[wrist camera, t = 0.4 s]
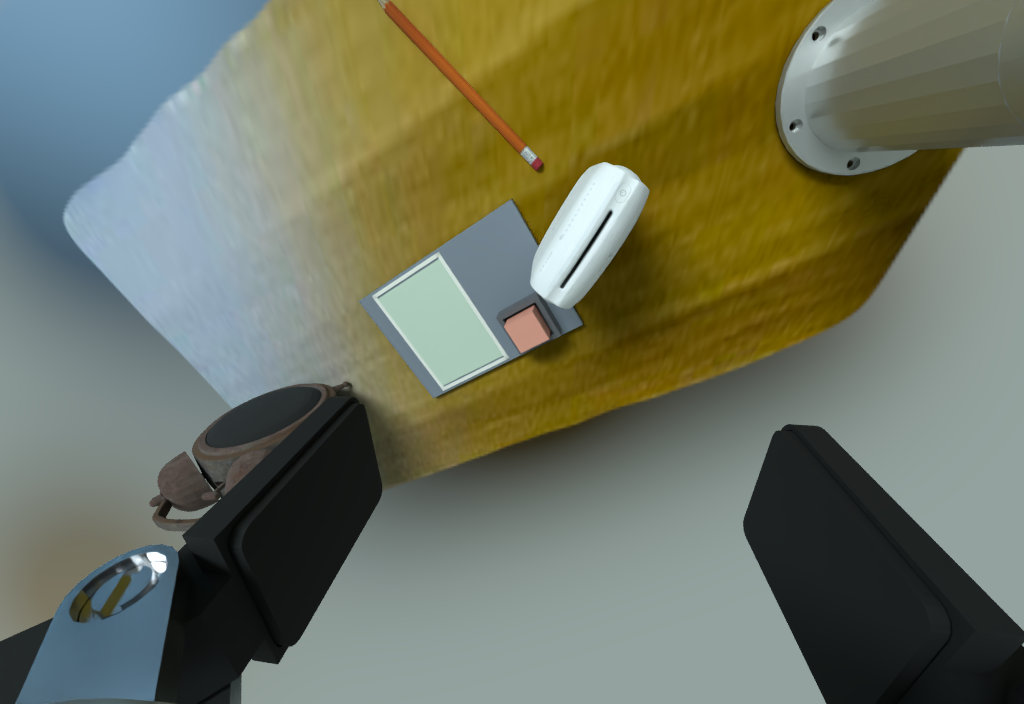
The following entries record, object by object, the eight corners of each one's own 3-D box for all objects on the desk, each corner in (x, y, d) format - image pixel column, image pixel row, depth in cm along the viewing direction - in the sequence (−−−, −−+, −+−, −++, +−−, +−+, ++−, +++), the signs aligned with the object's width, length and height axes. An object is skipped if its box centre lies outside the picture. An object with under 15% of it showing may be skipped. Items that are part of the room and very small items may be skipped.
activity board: (512, 198, 35) (507, 200, 33) (582, 322, 39) (583, 331, 37) (361, 299, 42) (349, 306, 40) (435, 395, 46) (428, 406, 44)
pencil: (536, 171, 34) (536, 171, 33) (369, -5, 30) (363, -10, 30) (543, 163, 34) (542, 162, 33) (374, -17, 30) (369, -22, 29)
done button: (534, 304, 37) (532, 311, 35) (550, 330, 38) (549, 339, 36) (507, 318, 38) (504, 326, 36) (523, 344, 39) (521, 353, 37)
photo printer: (588, 158, 33) (610, 147, 21) (628, 185, 33) (671, 188, 22) (526, 261, 37) (518, 298, 25) (564, 284, 37) (572, 329, 26)
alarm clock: (360, 365, 46) (225, 490, 28) (380, 414, 49) (268, 555, 31) (261, 375, 49) (83, 494, 31) (285, 421, 52) (135, 553, 34)
